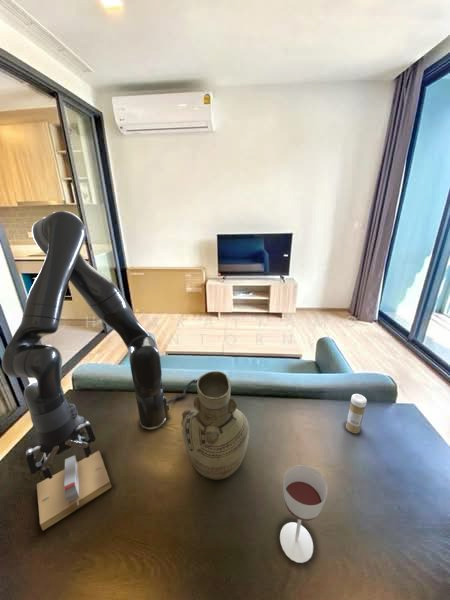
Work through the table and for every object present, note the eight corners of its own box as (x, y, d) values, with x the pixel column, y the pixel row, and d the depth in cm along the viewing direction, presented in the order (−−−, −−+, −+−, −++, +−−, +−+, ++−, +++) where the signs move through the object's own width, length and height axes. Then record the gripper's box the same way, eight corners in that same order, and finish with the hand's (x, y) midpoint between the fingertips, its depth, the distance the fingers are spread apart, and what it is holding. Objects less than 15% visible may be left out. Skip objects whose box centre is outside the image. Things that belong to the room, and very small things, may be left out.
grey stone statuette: (77, 438, 85) (69, 411, 81) (63, 435, 86) (54, 408, 82) (89, 424, 90) (82, 398, 86) (75, 422, 91) (68, 395, 87)
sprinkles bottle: (361, 428, 87) (369, 398, 83) (356, 436, 85) (364, 405, 80) (348, 421, 91) (354, 391, 86) (343, 428, 88) (349, 397, 83)
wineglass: (273, 523, 62) (278, 466, 55) (307, 519, 62) (317, 463, 55) (283, 566, 54) (290, 507, 47) (321, 561, 55) (335, 503, 48)
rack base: (99, 453, 79) (98, 447, 79) (112, 490, 69) (111, 484, 68) (38, 486, 70) (36, 480, 69) (43, 535, 60) (40, 528, 59)
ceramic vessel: (205, 422, 91) (201, 351, 80) (258, 449, 80) (262, 371, 70) (168, 465, 76) (158, 385, 65) (228, 505, 65) (227, 418, 55)
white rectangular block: (68, 469, 72) (64, 458, 71) (78, 465, 73) (74, 454, 72) (67, 502, 64) (63, 491, 63) (78, 497, 65) (75, 485, 64)
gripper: (82, 396, 67) (94, 440, 73) (15, 424, 59) (35, 472, 64) (89, 412, 62) (102, 458, 67) (16, 446, 53) (38, 496, 59)
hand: (69, 465), depth 66 cm, fingers open, 8 cm apart
